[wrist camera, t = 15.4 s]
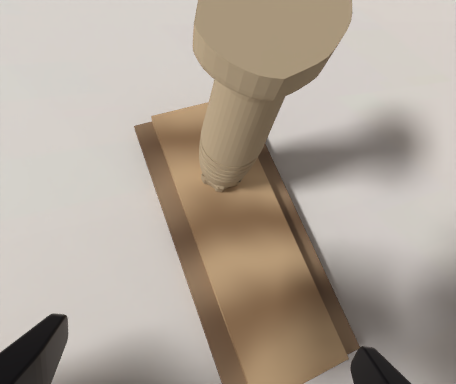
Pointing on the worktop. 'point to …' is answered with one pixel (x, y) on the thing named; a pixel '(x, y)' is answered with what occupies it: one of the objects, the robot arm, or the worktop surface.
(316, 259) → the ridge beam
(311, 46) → the handle
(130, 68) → the worktop surface
